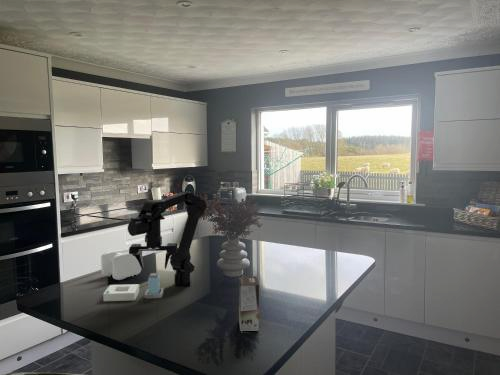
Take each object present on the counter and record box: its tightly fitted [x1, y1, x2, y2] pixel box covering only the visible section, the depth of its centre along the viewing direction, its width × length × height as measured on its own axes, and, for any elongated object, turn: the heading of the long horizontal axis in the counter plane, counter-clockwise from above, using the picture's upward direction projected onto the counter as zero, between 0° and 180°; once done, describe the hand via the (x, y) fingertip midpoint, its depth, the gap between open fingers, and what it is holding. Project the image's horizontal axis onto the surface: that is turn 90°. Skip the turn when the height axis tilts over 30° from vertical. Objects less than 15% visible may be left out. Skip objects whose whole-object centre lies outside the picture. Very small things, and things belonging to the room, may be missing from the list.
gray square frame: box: [144, 287, 165, 299], centre depth 159 cm, size 7×7×2 cm
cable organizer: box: [100, 248, 142, 281], centre depth 182 cm, size 15×11×12 cm
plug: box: [147, 272, 161, 294], centre depth 158 cm, size 4×4×9 cm
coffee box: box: [238, 275, 260, 333], centre depth 131 cm, size 9×6×16 cm
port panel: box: [102, 283, 140, 302], centre depth 157 cm, size 12×10×3 cm
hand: (154, 268), depth 158 cm, fingers open, 9 cm apart
